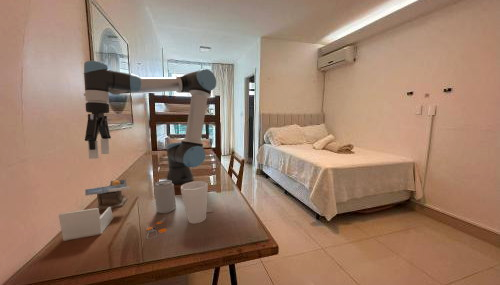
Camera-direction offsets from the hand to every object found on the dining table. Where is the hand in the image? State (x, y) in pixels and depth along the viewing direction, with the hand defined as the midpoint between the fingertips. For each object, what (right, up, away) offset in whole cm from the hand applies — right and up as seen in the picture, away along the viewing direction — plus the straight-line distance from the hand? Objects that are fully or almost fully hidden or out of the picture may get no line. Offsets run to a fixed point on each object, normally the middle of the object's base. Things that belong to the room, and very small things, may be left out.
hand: (99, 156), depth 83 cm
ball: (-5, -15, +18) cm, 24 cm away
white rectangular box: (+4, -25, -10) cm, 27 cm away
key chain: (+28, -25, -11) cm, 39 cm away
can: (+26, -23, +2) cm, 35 cm away
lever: (+1, -16, +10) cm, 19 cm away
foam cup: (+41, -23, -7) cm, 47 cm away
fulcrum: (-2, -23, +10) cm, 25 cm away
